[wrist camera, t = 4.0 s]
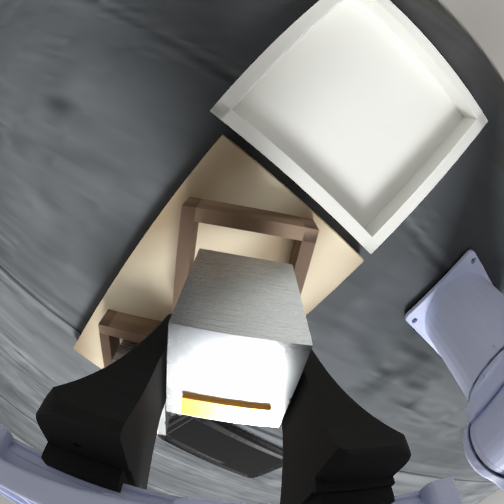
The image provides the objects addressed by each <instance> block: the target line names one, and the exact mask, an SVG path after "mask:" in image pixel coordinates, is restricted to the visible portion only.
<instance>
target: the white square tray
mask: <svg viewBox="0 0 504 504" xmlns="http://www.w3.org/2000/svg"><path fill="white" fill-rule="evenodd" d="M210 112H211V113H213V114H214V115H215V116H217V117H218V118H219V119H220V120H222V121H223V122H224V123H225V124H227V125H228V126H229V127H230V128H232V129H233V130H234V131H235V132H237V133H238V134H239V135H240V136H242V137H243V138H244V139H245V140H246V141H248V142H249V143H250V144H251V145H252V146H254V147H255V148H256V149H257V150H258V151H260V152H261V153H262V154H263V155H264V156H266V157H267V158H268V159H269V160H270V161H271V162H273V163H274V164H275V165H276V166H277V167H278V168H280V169H281V170H282V171H283V172H284V173H285V174H286V175H288V176H289V177H290V178H291V179H292V180H293V181H294V182H295V183H297V184H298V185H299V186H300V187H301V188H302V189H303V190H304V191H305V192H307V193H308V194H309V195H310V196H311V197H312V198H313V199H314V200H315V201H316V202H317V203H318V204H320V205H321V206H322V207H323V208H324V209H325V210H326V211H327V212H328V213H329V214H330V215H331V216H332V217H333V218H334V219H336V220H337V221H338V222H339V223H340V224H341V225H342V226H343V227H344V228H345V229H346V230H347V231H348V232H349V233H350V234H351V235H352V236H353V237H354V238H355V239H356V240H357V241H358V242H359V243H360V244H361V245H362V246H363V247H364V248H365V249H366V250H367V251H368V252H369V253H370V254H372V253H373V252H374V251H375V250H376V249H377V248H378V247H379V245H380V244H381V243H382V242H383V241H384V240H385V239H386V238H387V237H388V236H389V235H390V234H391V233H392V232H393V231H394V230H395V229H396V228H397V227H398V226H399V225H400V224H401V223H402V222H403V221H404V219H405V218H406V217H407V216H408V215H409V214H410V213H411V212H412V211H413V210H414V209H415V208H416V207H417V205H418V204H419V203H420V202H421V201H422V200H423V199H424V198H425V197H426V195H427V194H428V193H429V192H430V191H431V190H432V189H433V188H434V186H435V185H436V184H437V183H438V182H439V181H440V180H441V178H442V177H443V176H444V175H445V174H446V173H447V171H448V170H449V169H450V168H451V167H452V166H453V164H454V163H455V162H456V161H457V160H458V158H459V157H460V156H461V155H462V154H463V152H464V151H465V150H466V149H467V147H468V146H469V145H470V144H471V142H472V141H473V140H474V139H475V137H476V136H477V135H478V134H479V132H480V131H481V130H482V128H483V127H484V126H485V125H486V123H487V122H488V120H487V118H486V117H485V115H484V114H483V112H482V110H481V109H480V107H479V106H478V104H477V103H476V101H475V100H474V98H473V97H472V95H471V94H470V92H469V91H468V89H467V88H466V87H465V85H464V84H463V82H462V81H461V80H460V78H459V77H458V76H457V74H456V73H455V72H454V70H453V69H452V68H451V66H450V65H449V64H448V63H447V61H446V60H445V59H444V58H443V56H442V55H441V54H440V53H439V52H438V50H437V49H436V48H435V47H434V46H433V45H432V43H431V42H430V41H429V40H428V39H427V38H426V37H425V36H424V34H423V33H422V32H421V31H420V30H419V29H418V28H417V27H416V26H415V25H414V24H413V23H412V22H411V21H410V20H409V19H408V18H407V17H406V16H405V15H404V14H403V13H402V12H401V11H400V10H399V9H398V8H397V7H396V6H395V5H394V4H393V3H392V2H391V1H390V0H319V1H318V2H317V3H316V4H314V5H313V6H312V7H311V8H310V9H309V10H308V11H306V12H305V13H304V14H303V15H302V16H301V17H300V18H299V19H298V20H296V21H295V22H294V23H293V24H292V25H291V26H290V27H289V28H288V29H287V30H286V31H285V32H284V33H282V34H281V35H280V36H279V37H278V38H277V39H276V40H275V41H274V42H273V43H272V44H271V45H270V46H269V47H268V48H267V49H266V50H265V51H264V52H263V53H262V54H261V55H260V56H259V57H258V58H257V59H256V60H255V61H254V62H253V63H252V64H251V65H250V67H249V68H248V69H247V70H246V71H245V72H244V73H243V74H242V75H241V76H240V77H239V78H238V79H237V80H236V82H235V83H234V84H233V85H232V86H231V87H230V88H229V89H228V90H227V92H226V93H225V94H224V95H223V96H222V97H221V98H220V99H219V101H218V102H217V103H216V104H215V105H214V106H213V108H212V109H211V110H210Z"/></svg>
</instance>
